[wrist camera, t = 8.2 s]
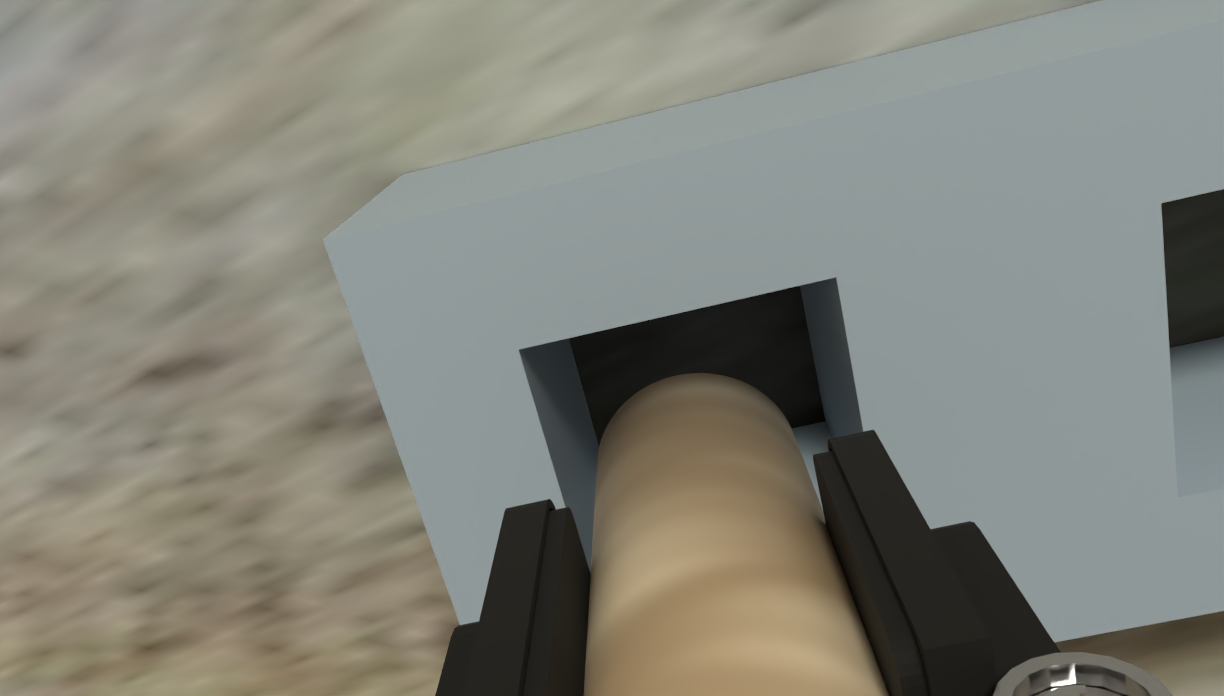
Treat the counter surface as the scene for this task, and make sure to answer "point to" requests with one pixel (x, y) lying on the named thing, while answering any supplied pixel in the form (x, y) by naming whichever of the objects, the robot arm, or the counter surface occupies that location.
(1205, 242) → the counter surface
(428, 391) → the hole block
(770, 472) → the peg
